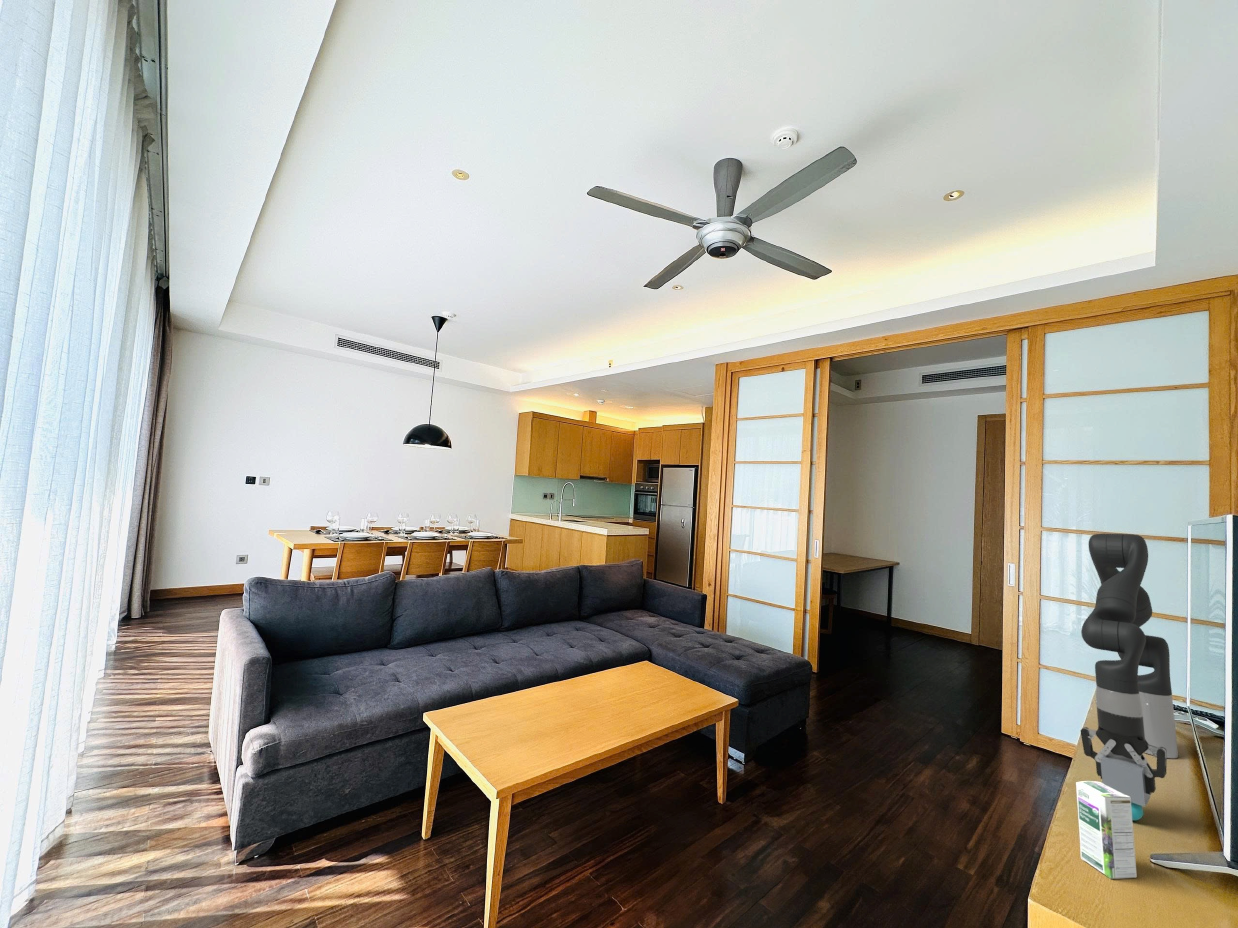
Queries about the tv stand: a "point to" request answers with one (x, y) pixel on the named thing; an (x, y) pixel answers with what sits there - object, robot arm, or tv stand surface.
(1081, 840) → the syrup box
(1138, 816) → the ball
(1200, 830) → the tv stand surface
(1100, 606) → the robot arm
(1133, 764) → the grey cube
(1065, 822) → the tv stand surface
